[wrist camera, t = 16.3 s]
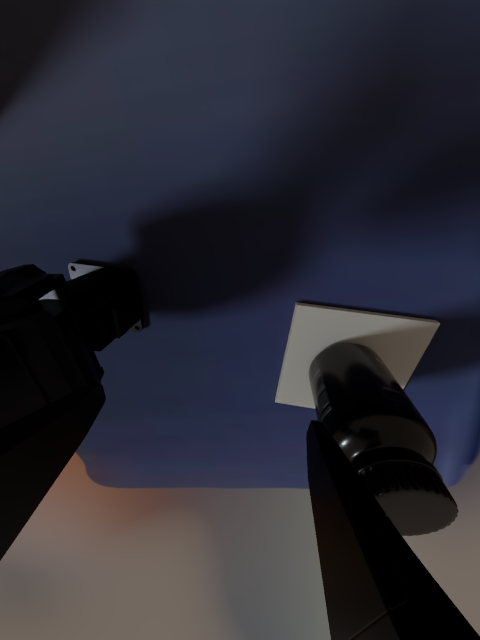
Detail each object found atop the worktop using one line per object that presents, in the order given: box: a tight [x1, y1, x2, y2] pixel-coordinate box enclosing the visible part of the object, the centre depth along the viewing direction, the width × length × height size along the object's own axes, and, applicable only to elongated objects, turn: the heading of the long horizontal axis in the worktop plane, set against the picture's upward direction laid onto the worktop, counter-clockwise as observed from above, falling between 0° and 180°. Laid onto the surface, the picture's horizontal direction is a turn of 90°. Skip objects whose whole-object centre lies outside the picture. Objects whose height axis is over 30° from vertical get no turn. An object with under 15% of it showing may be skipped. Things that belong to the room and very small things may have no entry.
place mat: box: [275, 302, 440, 409], centre depth 23 cm, size 12×12×1 cm
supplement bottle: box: [309, 343, 458, 536], centre depth 17 cm, size 7×7×12 cm
